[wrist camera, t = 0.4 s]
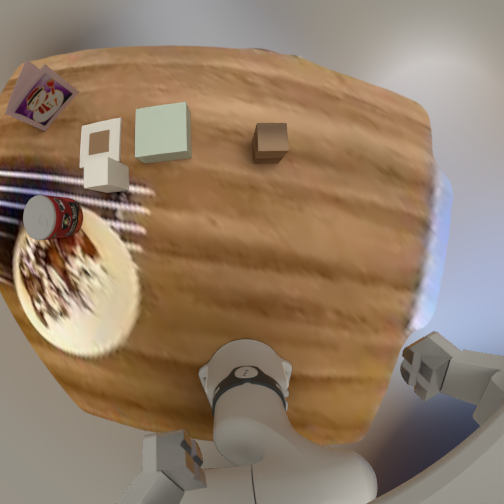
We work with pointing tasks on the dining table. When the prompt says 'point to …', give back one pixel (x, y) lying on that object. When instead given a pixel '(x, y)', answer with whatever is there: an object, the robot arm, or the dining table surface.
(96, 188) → the offwhite post
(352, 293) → the dining table surface
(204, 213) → the dining table surface
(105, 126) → the tile
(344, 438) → the dining table surface
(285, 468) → the robot arm
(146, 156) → the sage block
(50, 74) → the greeting card
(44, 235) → the canned food
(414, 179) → the dining table surface
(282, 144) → the walnut post
